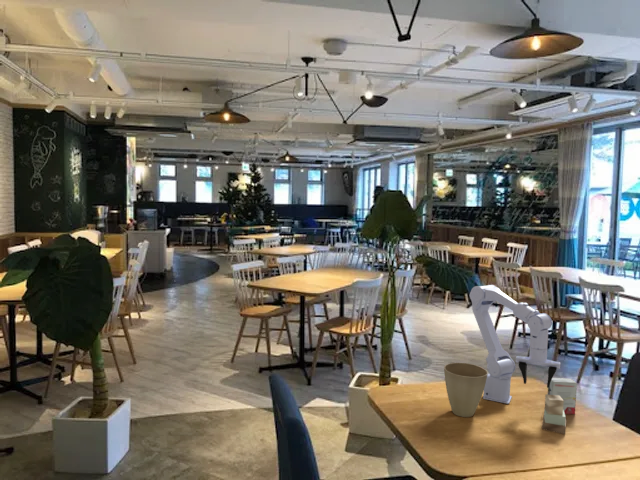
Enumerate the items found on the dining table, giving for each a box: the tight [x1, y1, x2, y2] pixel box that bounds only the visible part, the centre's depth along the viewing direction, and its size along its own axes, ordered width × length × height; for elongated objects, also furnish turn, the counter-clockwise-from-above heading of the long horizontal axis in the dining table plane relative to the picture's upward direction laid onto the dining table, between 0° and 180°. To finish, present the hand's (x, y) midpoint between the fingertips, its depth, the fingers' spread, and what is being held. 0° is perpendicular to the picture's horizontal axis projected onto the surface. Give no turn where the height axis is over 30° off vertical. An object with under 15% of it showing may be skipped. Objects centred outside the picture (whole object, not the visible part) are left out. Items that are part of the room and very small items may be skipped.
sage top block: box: [543, 407, 567, 426], centre depth 171 cm, size 6×6×3 cm
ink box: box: [546, 377, 578, 415], centre depth 185 cm, size 9×5×12 cm, turn 84°
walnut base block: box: [541, 416, 567, 435], centre depth 171 cm, size 7×7×3 cm
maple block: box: [544, 394, 564, 415], centre depth 171 cm, size 4×4×5 cm
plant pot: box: [443, 362, 489, 418], centre depth 180 cm, size 15×15×16 cm
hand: (536, 384), depth 182 cm, fingers open, 7 cm apart
